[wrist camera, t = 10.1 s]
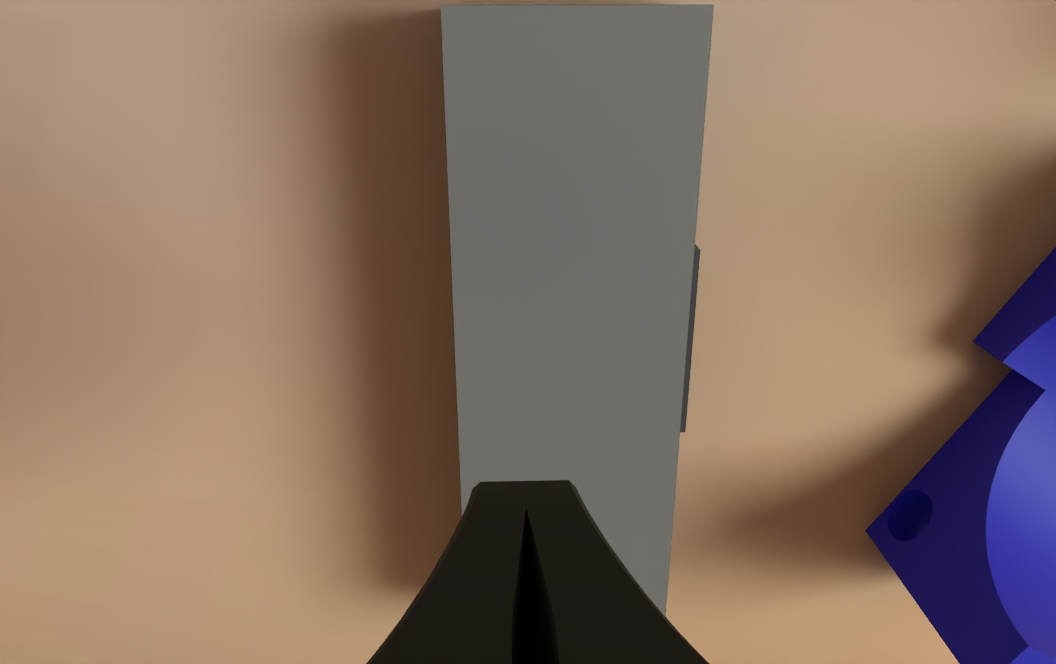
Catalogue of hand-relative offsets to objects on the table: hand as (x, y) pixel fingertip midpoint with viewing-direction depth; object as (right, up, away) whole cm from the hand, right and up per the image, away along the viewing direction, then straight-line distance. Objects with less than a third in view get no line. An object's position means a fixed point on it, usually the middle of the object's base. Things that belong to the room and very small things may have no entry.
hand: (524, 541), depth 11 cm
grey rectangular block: (+1, +3, +9) cm, 10 cm away
